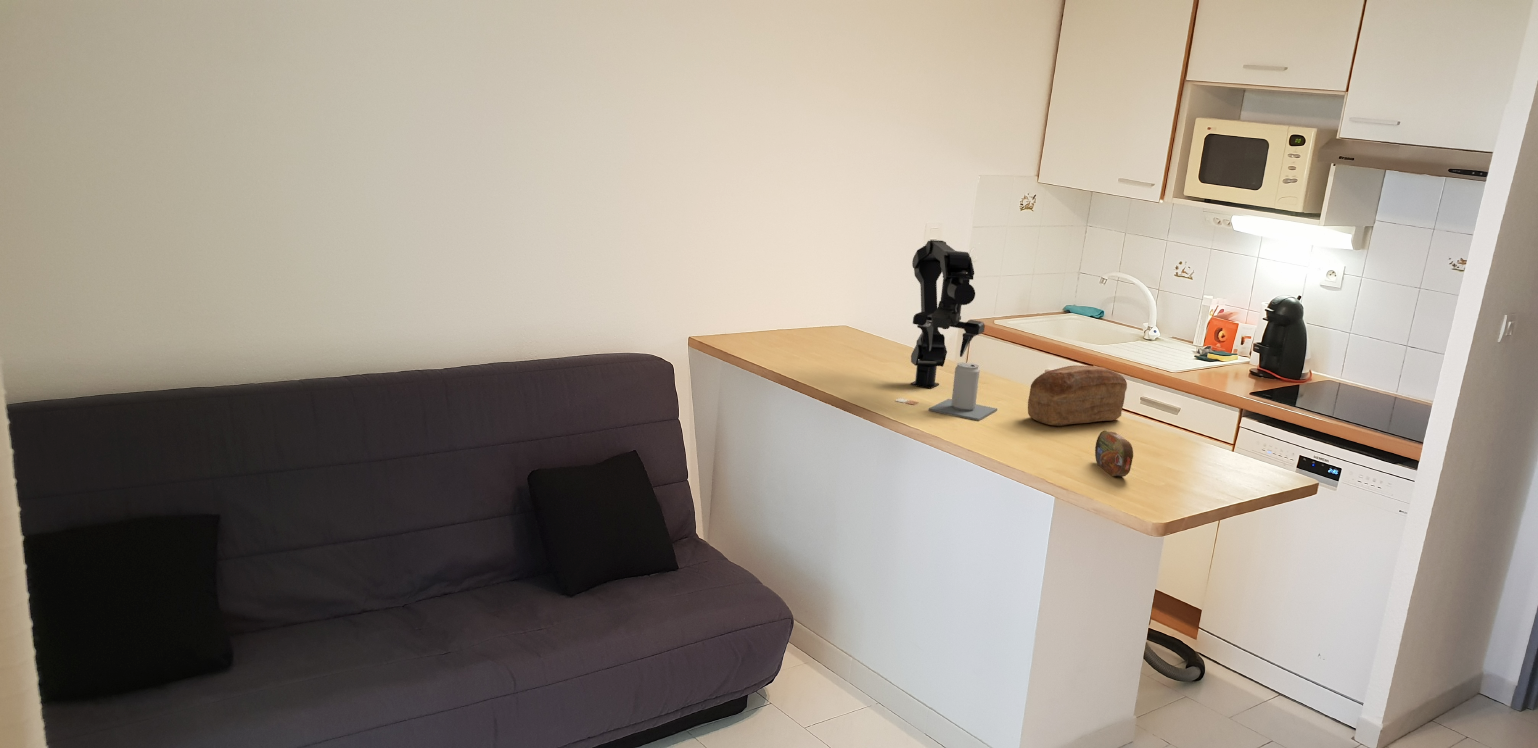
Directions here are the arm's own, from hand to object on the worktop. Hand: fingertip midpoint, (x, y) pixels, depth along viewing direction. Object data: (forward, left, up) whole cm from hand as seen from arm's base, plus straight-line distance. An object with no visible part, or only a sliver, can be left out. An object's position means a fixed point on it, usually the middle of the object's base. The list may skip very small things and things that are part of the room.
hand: (945, 353), depth 292 cm
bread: (-6, +36, -13) cm, 38 cm away
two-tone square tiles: (+10, -5, -13) cm, 17 cm away
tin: (+32, +55, -13) cm, 65 cm away
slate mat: (+7, +10, -13) cm, 18 cm away
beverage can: (+8, +10, -12) cm, 17 cm away
